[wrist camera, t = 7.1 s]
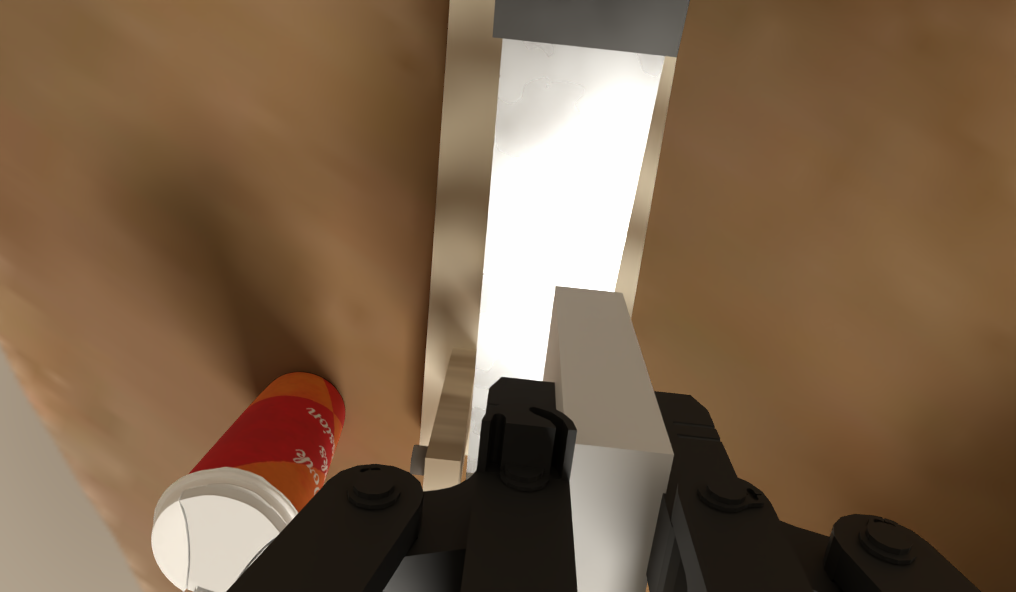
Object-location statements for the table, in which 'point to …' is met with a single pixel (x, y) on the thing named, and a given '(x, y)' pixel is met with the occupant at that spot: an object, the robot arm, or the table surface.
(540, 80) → the lever
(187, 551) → the paper cup
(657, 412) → the robot arm
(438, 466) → the press base
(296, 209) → the table surface
